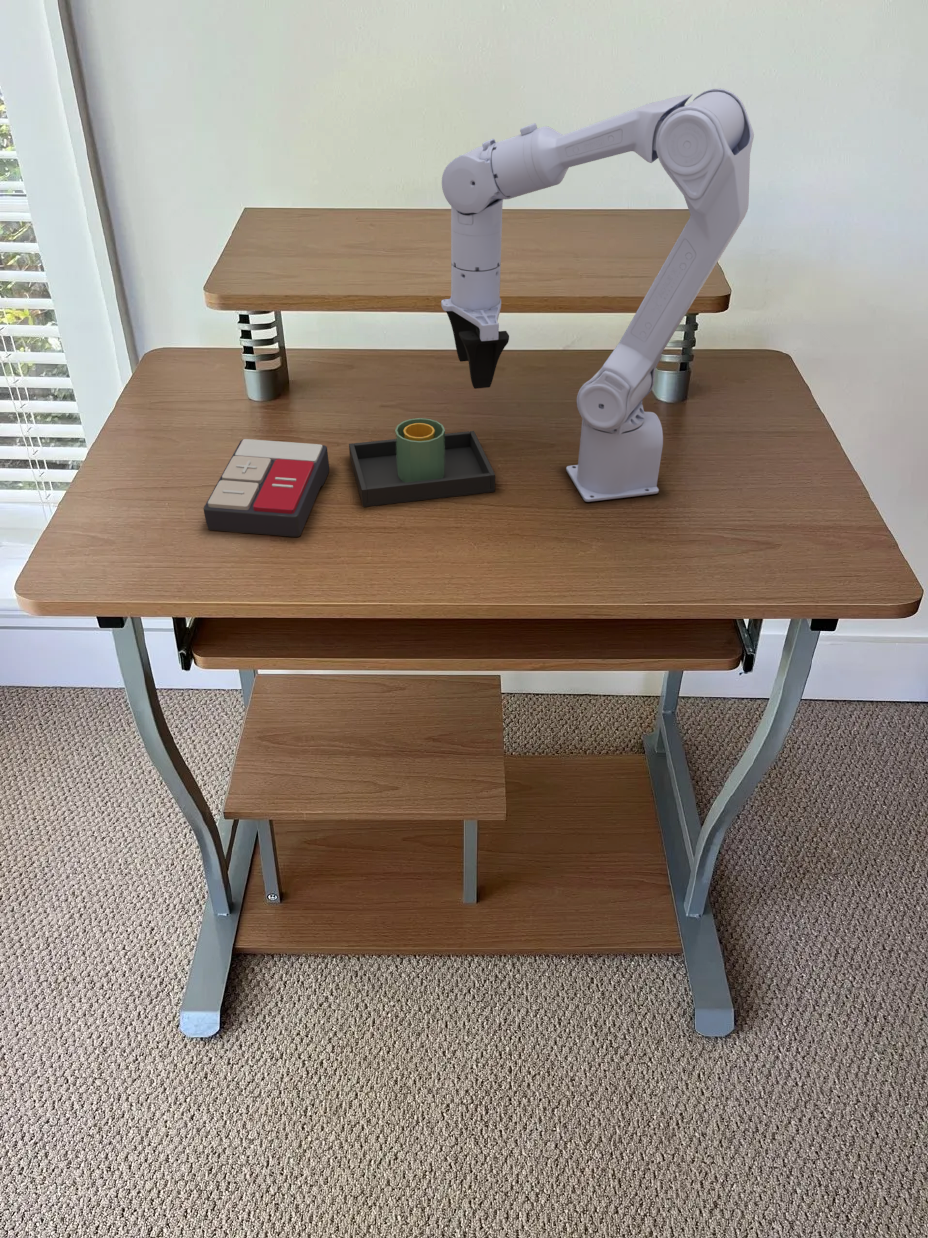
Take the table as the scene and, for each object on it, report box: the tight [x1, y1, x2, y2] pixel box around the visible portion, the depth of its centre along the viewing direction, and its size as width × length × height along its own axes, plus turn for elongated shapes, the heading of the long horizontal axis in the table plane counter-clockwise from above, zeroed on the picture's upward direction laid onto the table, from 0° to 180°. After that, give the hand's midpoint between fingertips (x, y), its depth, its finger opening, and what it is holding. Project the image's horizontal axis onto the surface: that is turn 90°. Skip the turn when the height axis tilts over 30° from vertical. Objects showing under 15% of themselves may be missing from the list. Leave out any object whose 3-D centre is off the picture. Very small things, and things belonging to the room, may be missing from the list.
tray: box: [348, 430, 496, 508], centre depth 122 cm, size 16×11×2 cm
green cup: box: [394, 417, 446, 482], centre depth 121 cm, size 6×6×6 cm
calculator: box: [203, 438, 330, 538], centre depth 117 cm, size 11×4×15 cm
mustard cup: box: [403, 423, 435, 441], centre depth 121 cm, size 4×4×6 cm
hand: (474, 372), depth 122 cm, fingers open, 7 cm apart
